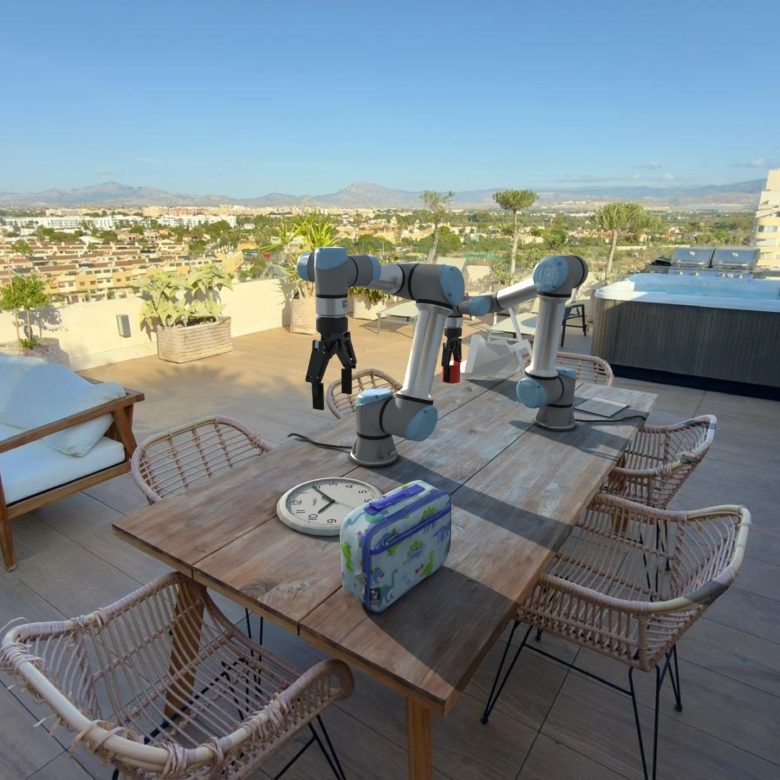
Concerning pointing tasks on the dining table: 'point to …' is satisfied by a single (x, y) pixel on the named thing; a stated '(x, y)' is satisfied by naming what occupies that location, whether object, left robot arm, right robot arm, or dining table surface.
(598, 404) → the invitation card
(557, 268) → the right robot arm
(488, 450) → the dining table surface
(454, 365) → the canister
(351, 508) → the wall clock
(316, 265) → the left robot arm
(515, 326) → the white plastic object
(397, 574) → the lunch box
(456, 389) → the dining table surface
